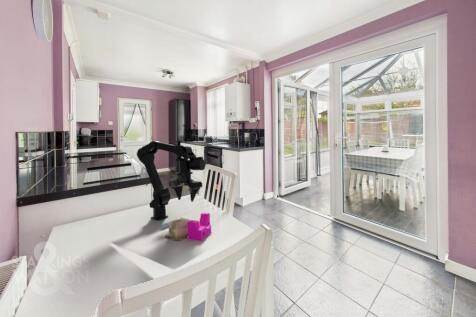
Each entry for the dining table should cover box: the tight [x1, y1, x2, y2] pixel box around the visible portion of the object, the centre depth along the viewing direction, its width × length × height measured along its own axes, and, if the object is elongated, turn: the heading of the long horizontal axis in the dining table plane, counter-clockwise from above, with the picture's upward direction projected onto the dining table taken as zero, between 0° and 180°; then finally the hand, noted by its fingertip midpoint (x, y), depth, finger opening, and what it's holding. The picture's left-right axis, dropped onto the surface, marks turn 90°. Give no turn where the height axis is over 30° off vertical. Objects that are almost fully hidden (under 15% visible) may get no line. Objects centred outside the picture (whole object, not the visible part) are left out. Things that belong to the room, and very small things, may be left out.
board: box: [164, 234, 188, 242], centre depth 93 cm, size 8×10×1 cm
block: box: [168, 217, 190, 238], centre depth 92 cm, size 5×7×6 cm
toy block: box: [187, 212, 212, 242], centre depth 94 cm, size 15×6×8 cm, turn 165°
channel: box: [160, 218, 179, 229], centre depth 103 cm, size 10×10×2 cm
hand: (185, 200), depth 108 cm, fingers open, 9 cm apart
